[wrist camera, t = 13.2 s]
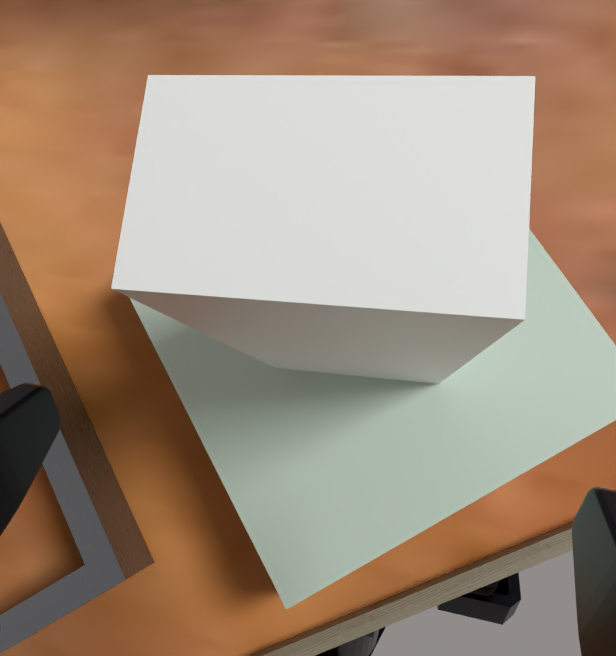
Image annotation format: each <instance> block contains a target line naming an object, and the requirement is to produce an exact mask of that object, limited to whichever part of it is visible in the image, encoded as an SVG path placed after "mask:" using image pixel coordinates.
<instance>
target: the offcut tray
mask: <svg viewBox="0 0 616 656" xmlns="http://www.w3.org/2000/svg"><path fill="white" fill-rule="evenodd" d="M0 365H1V367H2V369H3V372H4V374H5V376H6V379H7V381H8V384H9V386H10V388H13V387H16V386H18V385H20V384H22V383H33V384H39V385H44V386H47V387H48V388H49V389H50V390H51V392H52V395H53V398H54V401H55V404H56V407H57V409H58V412H59V415H60V419H61V425H60V429H59V432H58V434H57V436H56V438H55V440H54V442H53V444H52V446H51V448H50V450H49V452H48V453H47V455H46V457H45V459H44V461H43V463H42V464H43V467H44V469H45V471H46V474H47V476H48V479H49V481H50V483H51V486H52V488H53V490H54V493H55V495H56V498H57V500H58V502H59V505H60V507H61V509H62V512H63V514H64V517H65V519H66V521H67V524H68V526H69V528H70V531H71V533H72V536H73V538H74V540H75V543H76V545H77V547H78V550H79V552H80V555H81V557H82V559H83V562H84V564H85V565H84V566H82V567H81V568H79V569H77V570H75V571H74V572H72V573H70V574H69V575H67V576H65V577H64V578H62V579H60V580H58V581H57V582H55V583H53V584H52V585H50V586H48V587H47V588H45V589H43V590H42V591H40V592H38V593H36V594H35V595H33V596H31V597H30V598H28V599H26V600H25V601H23V602H21V603H19V604H18V605H16V606H14V607H13V608H11V609H9V610H8V611H6V612H4V613H2V614H1V615H0V653H1V652H3V651H5V650H6V649H8V648H10V647H12V646H13V645H15V644H17V643H18V642H20V641H22V640H24V639H25V638H27V637H29V636H30V635H32V634H34V633H35V632H37V631H39V630H41V629H42V628H44V627H46V626H47V625H49V624H51V623H53V622H54V621H56V620H58V619H59V618H61V617H63V616H64V615H66V614H68V613H70V612H71V611H73V610H75V609H76V608H78V607H80V606H82V605H83V604H85V603H87V602H88V601H90V600H92V599H93V598H95V597H97V596H99V595H100V594H102V593H104V592H105V591H107V590H109V589H111V588H112V587H114V586H116V585H117V584H119V583H121V582H122V581H124V580H126V579H128V578H129V577H131V576H133V575H134V574H136V573H138V572H139V571H141V570H143V569H144V568H146V567H148V566H149V565H151V564H153V563H154V561H153V559H152V557H151V554H150V552H149V550H148V548H147V546H146V543H145V541H144V539H143V537H142V535H141V532H140V530H139V528H138V526H137V523H136V521H135V519H134V517H133V515H132V512H131V510H130V508H129V506H128V504H127V501H126V499H125V497H124V495H123V493H122V490H121V488H120V486H119V484H118V482H117V479H116V477H115V475H114V473H113V471H112V468H111V466H110V464H109V462H108V460H107V457H106V455H105V453H104V451H103V449H102V446H101V444H100V442H99V440H98V437H97V435H96V433H95V431H94V429H93V426H92V424H91V422H90V420H89V418H88V415H87V413H86V411H85V409H84V407H83V404H82V402H81V400H80V398H79V396H78V393H77V391H76V389H75V387H74V385H73V382H72V380H71V378H70V376H69V374H68V371H67V369H66V367H65V365H64V362H63V360H62V358H61V356H60V354H59V351H58V349H57V347H56V345H55V343H54V340H53V338H52V336H51V334H50V332H49V329H48V327H47V325H46V323H45V321H44V318H43V316H42V314H41V312H40V310H39V307H38V305H37V303H36V301H35V299H34V296H33V294H32V292H31V290H30V287H29V285H28V283H27V281H26V279H25V276H24V274H23V272H22V270H21V268H20V265H19V263H18V261H17V259H16V257H15V254H14V252H13V250H12V248H11V246H10V243H9V241H8V239H7V237H6V235H5V232H4V230H3V228H2V226H1V224H0Z"/></svg>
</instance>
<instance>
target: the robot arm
mask: <svg viewBox="0 0 616 656" xmlns="http://www.w3.org/2000/svg"><path fill="white" fill-rule="evenodd" d="M60 425H61V419H60V415H59V412H58V409H57V407H56V404H55V401H54V398H53V395H52V392H51V390H50V389H49V388H48V387H47V386H44V385H39V384H33V383H22V384H20V385H18V386H16V387H13V388H11V389H9V390H7V391H5V392H3V393H1V394H0V536H1V534H2V533H3V531H4V530H5V528H6V527H7V525H8V524H9V522H10V521H11V519H12V517H13V516H14V514H15V513H16V511H17V509H18V508H19V506H20V504H21V502H22V501H23V499H24V497H25V495H26V493H27V492H28V490H29V488H30V486H31V484H32V482H33V480H34V478H35V476H36V474H37V472H38V471H39V469H40V467H41V465H42V463H43V461H44V459H45V457H46V455H47V453H48V452H49V450H50V448H51V446H52V444H53V442H54V440H55V438H56V436H57V434H58V432H59V429H60ZM572 546H573V562H574V578H575V593H576V609H577V624H578V635H579V642H580V649H581V656H616V490H611V489H605V488H600V487H593V488H591V489H590V490H589V492H588V493H587V495H586V497H585V499H584V501H583V503H582V505H581V507H580V509H579V510H578V512H577V514H576V516H575V518H574V521H573V525H572Z"/></svg>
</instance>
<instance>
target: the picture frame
mask: <svg viewBox="0 0 616 656" xmlns="http://www.w3.org/2000/svg"><path fill="white" fill-rule="evenodd" d="M572 525H573V522H571V523H569V524H566V525H564V526H561V527H559V528H556V529H554V530H552V531H549V532H547V533H544V534H542V535H539V536H537V537H535V538H532V539H530V540H527V541H525V542H523V543H520V544H518V545H515V546H513V547H510V548H508V549H506V550H503V551H501V552H498V553H496V554H493V555H491V556H489V557H486V558H484V559H481V560H479V561H477V562H474V563H472V564H469V565H467V566H464V567H462V568H460V569H457V570H455V571H452V572H450V573H447V574H445V575H443V576H440V577H438V578H435V579H433V580H431V581H428V582H426V583H423V584H421V585H418V586H416V587H414V588H411V589H409V590H406V591H404V592H401V593H399V594H397V595H394V596H392V597H389V598H387V599H384V600H382V601H380V602H377V603H375V604H372V605H370V606H368V607H365V608H363V609H360V610H358V611H355V612H353V613H351V614H348V615H346V616H343V617H341V618H338V619H336V620H334V621H331V622H329V623H326V624H324V625H322V626H319V627H317V628H314V629H312V630H309V631H307V632H305V633H302V634H300V635H297V636H295V637H292V638H290V639H288V640H285V641H283V642H280V643H278V644H276V645H273V646H271V647H268V648H266V649H263V650H261V651H259V652H256V653H254V654H251V656H581V649H580V642H579V635H578V624H577V609H576V593H575V578H574V562H573V546H572Z"/></svg>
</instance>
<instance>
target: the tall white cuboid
mask: <svg viewBox="0 0 616 656" xmlns="http://www.w3.org/2000/svg"><path fill="white" fill-rule="evenodd" d="M534 96H535V76H289V75H148V79H147V85H146V90H145V96H144V102H143V108H142V114H141V119H140V125H139V131H138V137H137V142H136V148H135V154H134V160H133V166H132V171H131V177H130V183H129V189H128V194H127V200H126V206H125V212H124V218H123V223H122V229H121V235H120V241H119V246H118V252H117V258H116V264H115V270H114V275H113V281H112V287H111V289H113V290H115V291H117V292H119V293H121V294H123V295H125V296H127V297H129V298H131V299H133V300H135V301H138V302H140V303H142V304H144V305H146V306H148V307H150V308H152V309H154V310H156V311H158V312H160V313H162V314H164V315H166V316H169V317H171V318H173V319H175V320H177V321H179V322H181V323H183V324H185V325H187V326H189V327H191V328H193V329H195V330H197V331H199V332H202V333H204V334H206V335H208V336H210V337H212V338H214V339H216V340H218V341H220V342H222V343H224V344H226V345H228V346H230V347H232V348H235V349H237V350H239V351H241V352H243V353H245V354H247V355H249V356H251V357H253V358H255V359H257V360H259V361H261V362H263V363H266V364H268V365H270V366H272V367H274V368H279V369H289V370H300V371H310V372H321V373H331V374H341V375H352V376H362V377H373V378H383V379H393V380H404V381H414V382H425V383H435V384H439V383H441V382H442V381H443V380H445V379H446V378H447V377H449V376H450V375H451V374H453V373H454V372H456V371H457V370H458V369H460V368H461V367H462V366H464V365H465V364H466V363H468V362H469V361H470V360H472V359H473V358H474V357H476V356H477V355H478V354H480V353H481V352H482V351H484V350H485V349H486V348H488V347H489V346H490V345H492V344H493V343H494V342H496V341H497V340H498V339H500V338H501V337H503V336H504V335H505V334H507V333H508V332H509V331H511V330H512V329H513V328H515V327H516V326H517V325H519V324H520V323H521V322H523V321H524V320H525V310H526V286H527V262H528V239H529V215H530V191H531V167H532V144H533V120H534Z"/></svg>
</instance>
